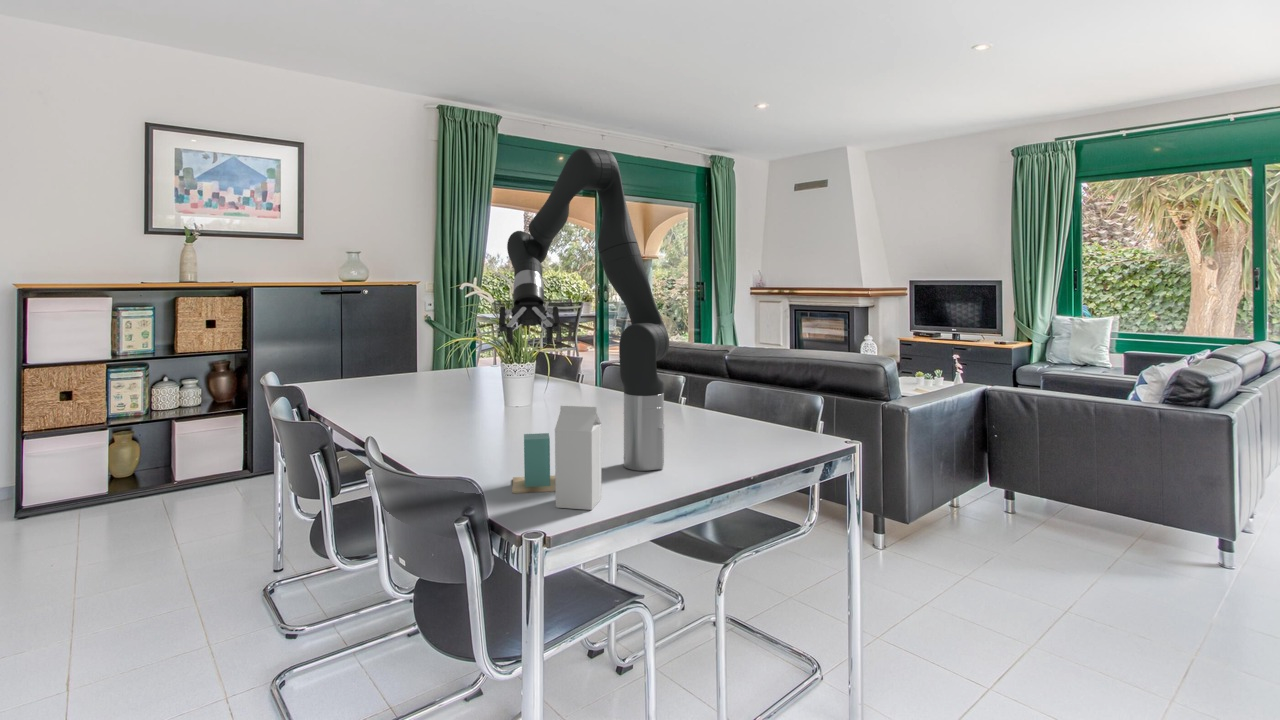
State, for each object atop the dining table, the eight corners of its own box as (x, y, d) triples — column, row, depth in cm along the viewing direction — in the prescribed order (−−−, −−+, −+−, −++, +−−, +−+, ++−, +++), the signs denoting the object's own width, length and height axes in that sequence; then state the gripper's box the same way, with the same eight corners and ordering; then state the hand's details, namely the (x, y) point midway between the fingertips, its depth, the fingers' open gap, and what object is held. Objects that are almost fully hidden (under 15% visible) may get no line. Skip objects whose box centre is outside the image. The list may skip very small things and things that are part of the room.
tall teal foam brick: (549, 478, 143) (548, 433, 142) (550, 485, 138) (549, 438, 137) (524, 480, 142) (524, 434, 141) (524, 487, 137) (523, 439, 136)
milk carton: (591, 510, 124) (591, 410, 122) (555, 508, 126) (554, 408, 124) (601, 499, 131) (601, 403, 129) (567, 496, 133) (566, 402, 130)
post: (559, 477, 146) (559, 439, 145) (562, 490, 136) (561, 450, 135) (513, 479, 144) (512, 441, 143) (512, 493, 134) (511, 452, 134)
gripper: (498, 281, 161) (498, 332, 151) (558, 281, 163) (561, 331, 153) (500, 303, 167) (499, 353, 157) (557, 303, 169) (560, 352, 159)
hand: (530, 342), depth 155 cm, fingers open, 8 cm apart
